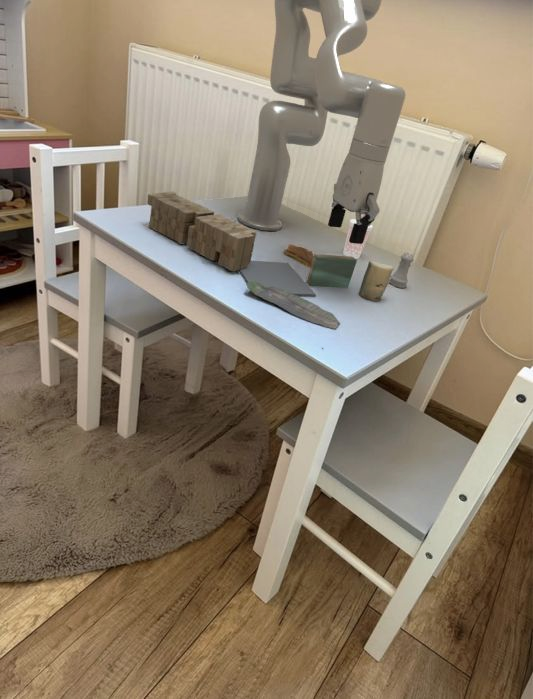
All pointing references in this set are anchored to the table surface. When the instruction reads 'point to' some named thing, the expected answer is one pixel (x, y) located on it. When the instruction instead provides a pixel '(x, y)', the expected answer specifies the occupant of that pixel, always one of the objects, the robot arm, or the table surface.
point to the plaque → (331, 271)
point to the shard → (300, 254)
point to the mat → (276, 277)
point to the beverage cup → (354, 248)
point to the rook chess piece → (402, 271)
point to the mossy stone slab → (294, 304)
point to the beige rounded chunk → (375, 280)
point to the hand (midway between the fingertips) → (344, 234)
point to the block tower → (202, 230)
